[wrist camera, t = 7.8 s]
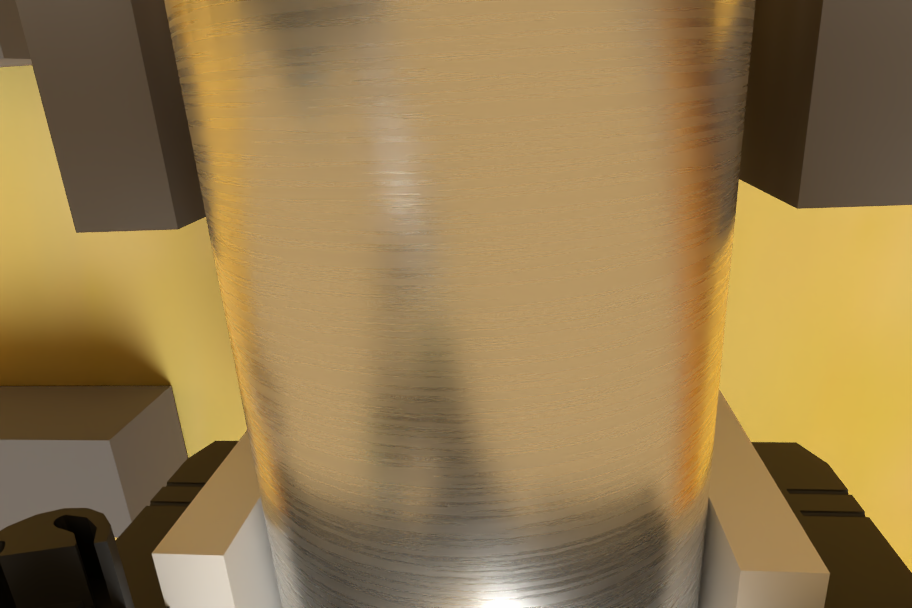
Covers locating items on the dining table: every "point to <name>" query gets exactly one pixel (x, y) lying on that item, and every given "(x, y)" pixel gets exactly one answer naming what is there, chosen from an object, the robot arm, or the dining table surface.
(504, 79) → the silver metal cylinder
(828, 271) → the dining table surface
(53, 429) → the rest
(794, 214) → the dining table surface
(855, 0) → the dark grey notched piece
